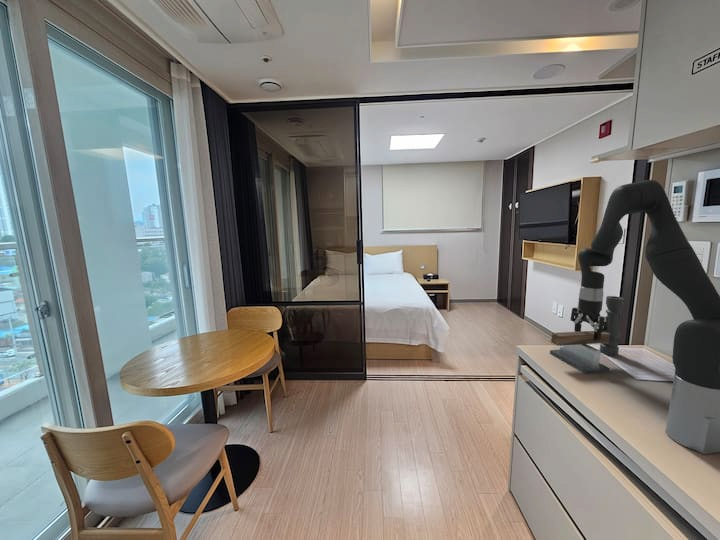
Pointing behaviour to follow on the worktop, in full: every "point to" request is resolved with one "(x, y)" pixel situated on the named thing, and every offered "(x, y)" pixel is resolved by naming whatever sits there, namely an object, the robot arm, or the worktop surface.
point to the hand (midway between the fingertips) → (586, 336)
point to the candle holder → (612, 325)
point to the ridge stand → (581, 358)
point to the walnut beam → (578, 338)
